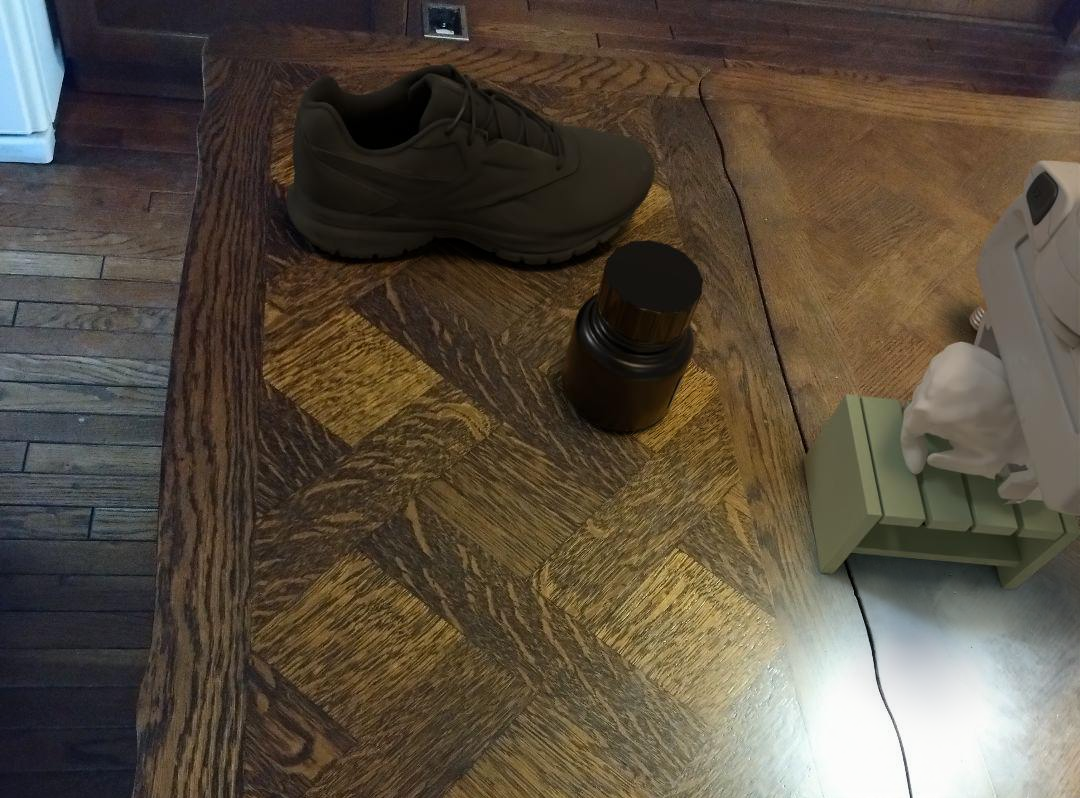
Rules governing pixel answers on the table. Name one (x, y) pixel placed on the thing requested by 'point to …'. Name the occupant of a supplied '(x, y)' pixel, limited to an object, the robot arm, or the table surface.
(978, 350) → the white animal figurine
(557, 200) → the running shoe
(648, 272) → the ink bottle
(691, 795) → the table surface
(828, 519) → the stool
